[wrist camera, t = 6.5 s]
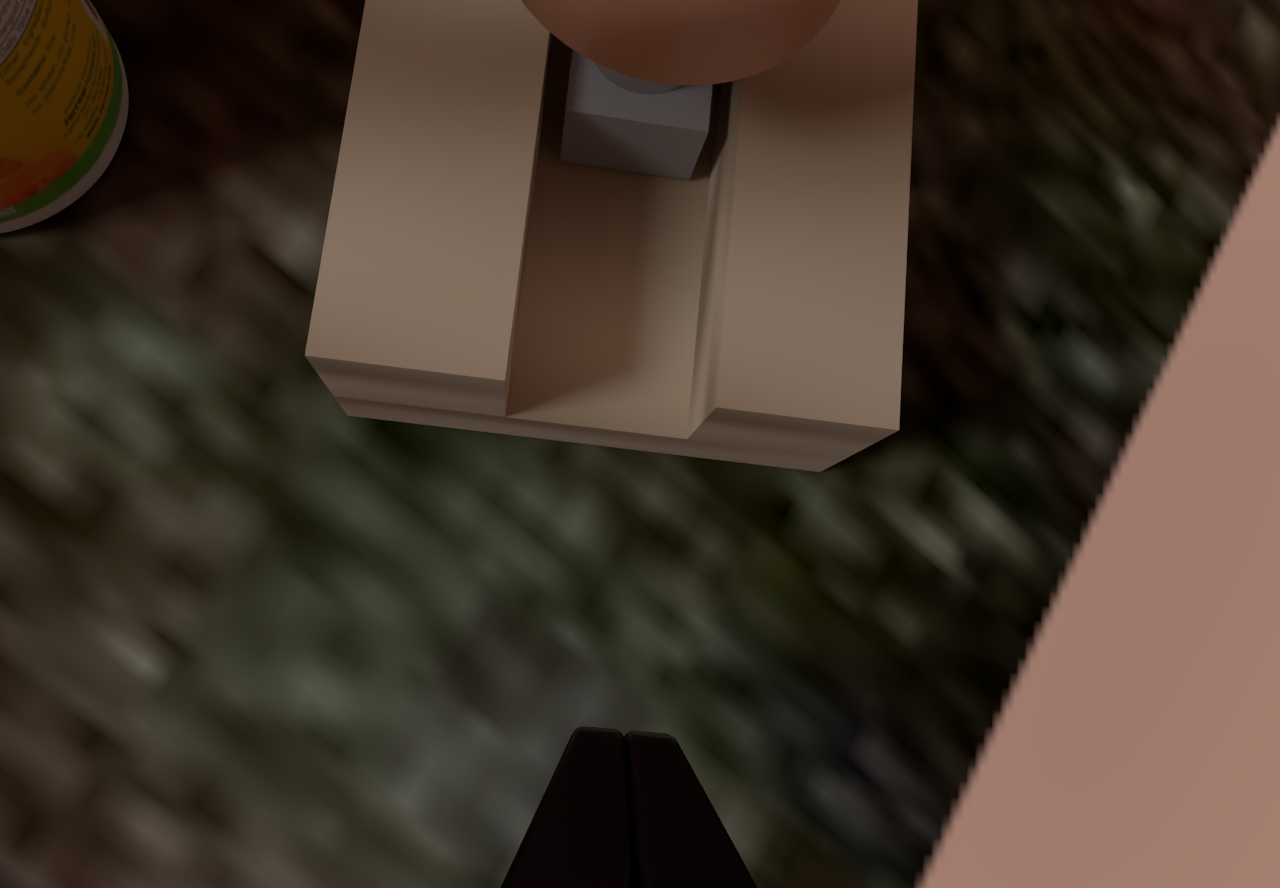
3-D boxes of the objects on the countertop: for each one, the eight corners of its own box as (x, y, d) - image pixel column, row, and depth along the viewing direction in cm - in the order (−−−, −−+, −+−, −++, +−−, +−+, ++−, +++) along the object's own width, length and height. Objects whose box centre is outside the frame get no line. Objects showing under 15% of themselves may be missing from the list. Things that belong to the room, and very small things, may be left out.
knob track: (820, 471, 19) (898, 429, 15) (347, 415, 18) (304, 355, 14) (845, 56, 21) (921, -75, 17) (416, -16, 20) (394, -171, 16)
